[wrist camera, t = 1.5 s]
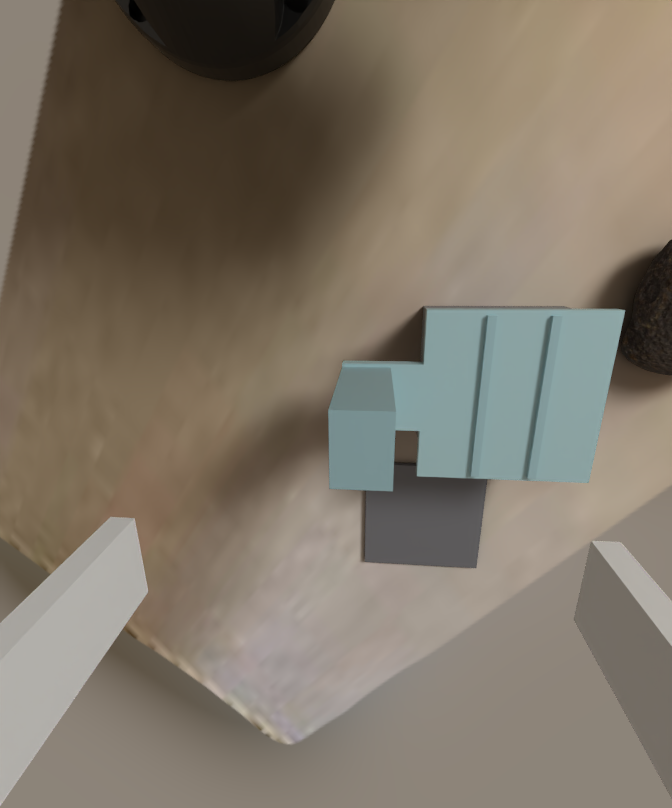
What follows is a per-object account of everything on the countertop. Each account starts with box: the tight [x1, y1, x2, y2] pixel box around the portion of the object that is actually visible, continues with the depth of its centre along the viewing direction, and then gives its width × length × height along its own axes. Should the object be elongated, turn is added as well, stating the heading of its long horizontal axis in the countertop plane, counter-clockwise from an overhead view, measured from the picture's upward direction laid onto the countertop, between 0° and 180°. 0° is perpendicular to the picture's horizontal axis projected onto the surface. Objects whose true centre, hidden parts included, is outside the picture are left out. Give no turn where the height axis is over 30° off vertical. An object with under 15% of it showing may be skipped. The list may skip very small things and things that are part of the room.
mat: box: [365, 463, 487, 568], centre depth 37 cm, size 10×10×1 cm
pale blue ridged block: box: [328, 308, 625, 491], centre depth 23 cm, size 11×16×9 cm
